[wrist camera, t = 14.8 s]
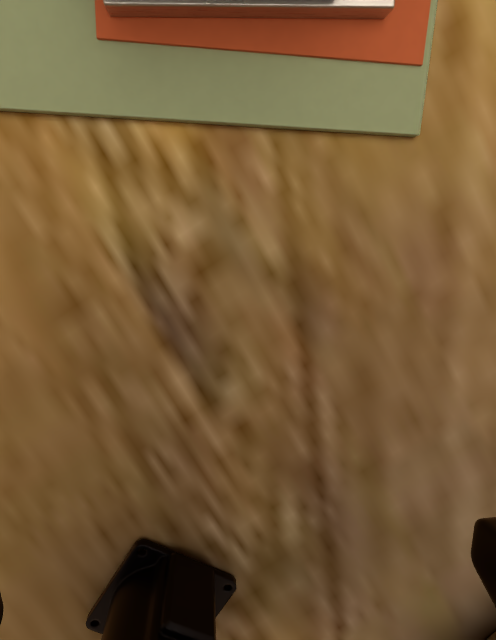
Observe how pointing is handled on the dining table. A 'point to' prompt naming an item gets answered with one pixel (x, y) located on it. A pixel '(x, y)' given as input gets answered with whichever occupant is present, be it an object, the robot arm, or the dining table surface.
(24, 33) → the ironing mat
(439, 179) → the dining table surface
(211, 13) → the iron
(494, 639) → the ceramic jug
